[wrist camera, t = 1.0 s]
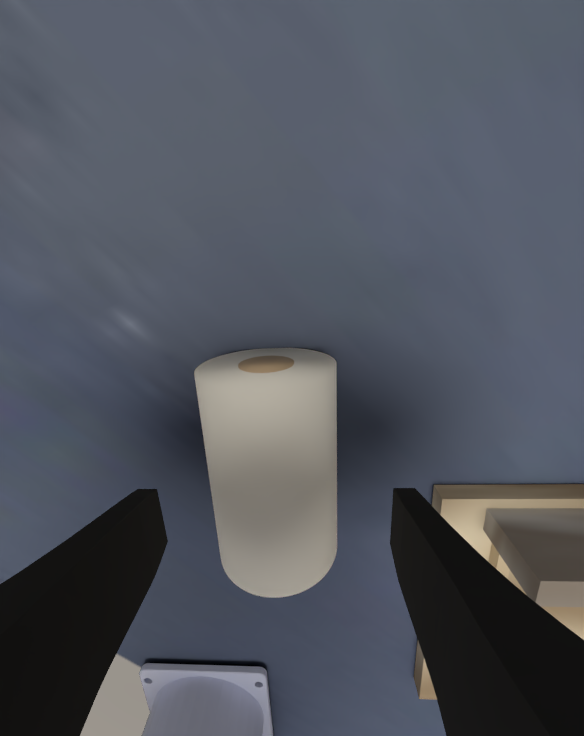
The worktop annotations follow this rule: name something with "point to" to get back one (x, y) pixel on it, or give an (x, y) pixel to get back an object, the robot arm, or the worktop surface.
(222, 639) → the worktop surface
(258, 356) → the paper roll
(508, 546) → the roll holder
